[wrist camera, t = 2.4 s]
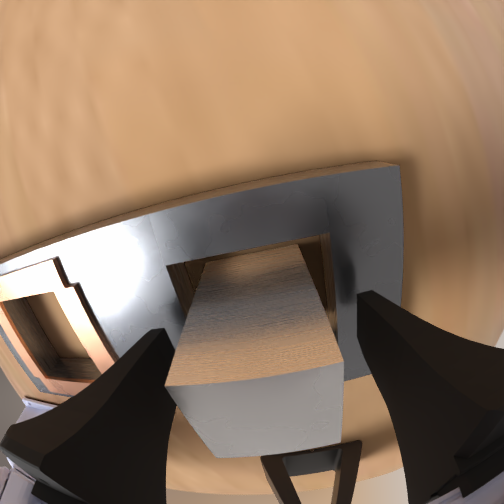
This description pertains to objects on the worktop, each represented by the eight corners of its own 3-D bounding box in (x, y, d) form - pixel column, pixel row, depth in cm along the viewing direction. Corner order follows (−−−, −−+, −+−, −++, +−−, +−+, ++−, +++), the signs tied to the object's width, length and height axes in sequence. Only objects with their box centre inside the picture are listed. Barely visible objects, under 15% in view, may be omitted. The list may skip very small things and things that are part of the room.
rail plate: (50, 375, 16) (38, 394, 14) (-11, 264, 12) (-31, 278, 10) (379, 343, 14) (394, 371, 12) (376, 160, 10) (403, 166, 8)
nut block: (229, 332, 13) (216, 458, 7) (206, 261, 12) (164, 386, 6) (308, 318, 13) (340, 442, 7) (297, 244, 12) (343, 361, 5)
